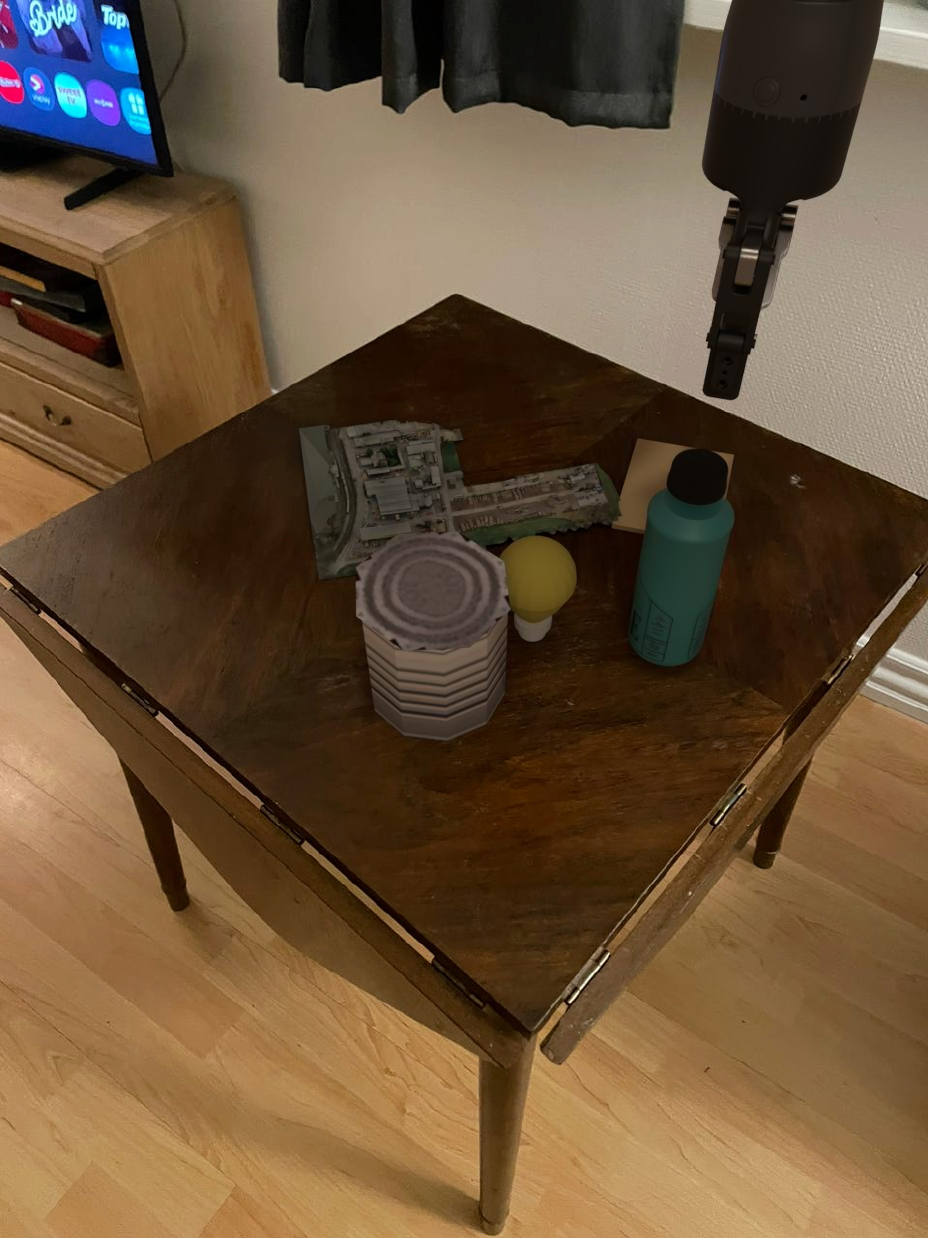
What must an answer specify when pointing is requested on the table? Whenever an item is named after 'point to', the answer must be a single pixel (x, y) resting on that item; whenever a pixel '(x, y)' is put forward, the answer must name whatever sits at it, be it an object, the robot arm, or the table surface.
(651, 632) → the beverage bottle
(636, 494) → the mat
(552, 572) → the light bulb
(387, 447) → the model
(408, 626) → the can
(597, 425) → the table surface
